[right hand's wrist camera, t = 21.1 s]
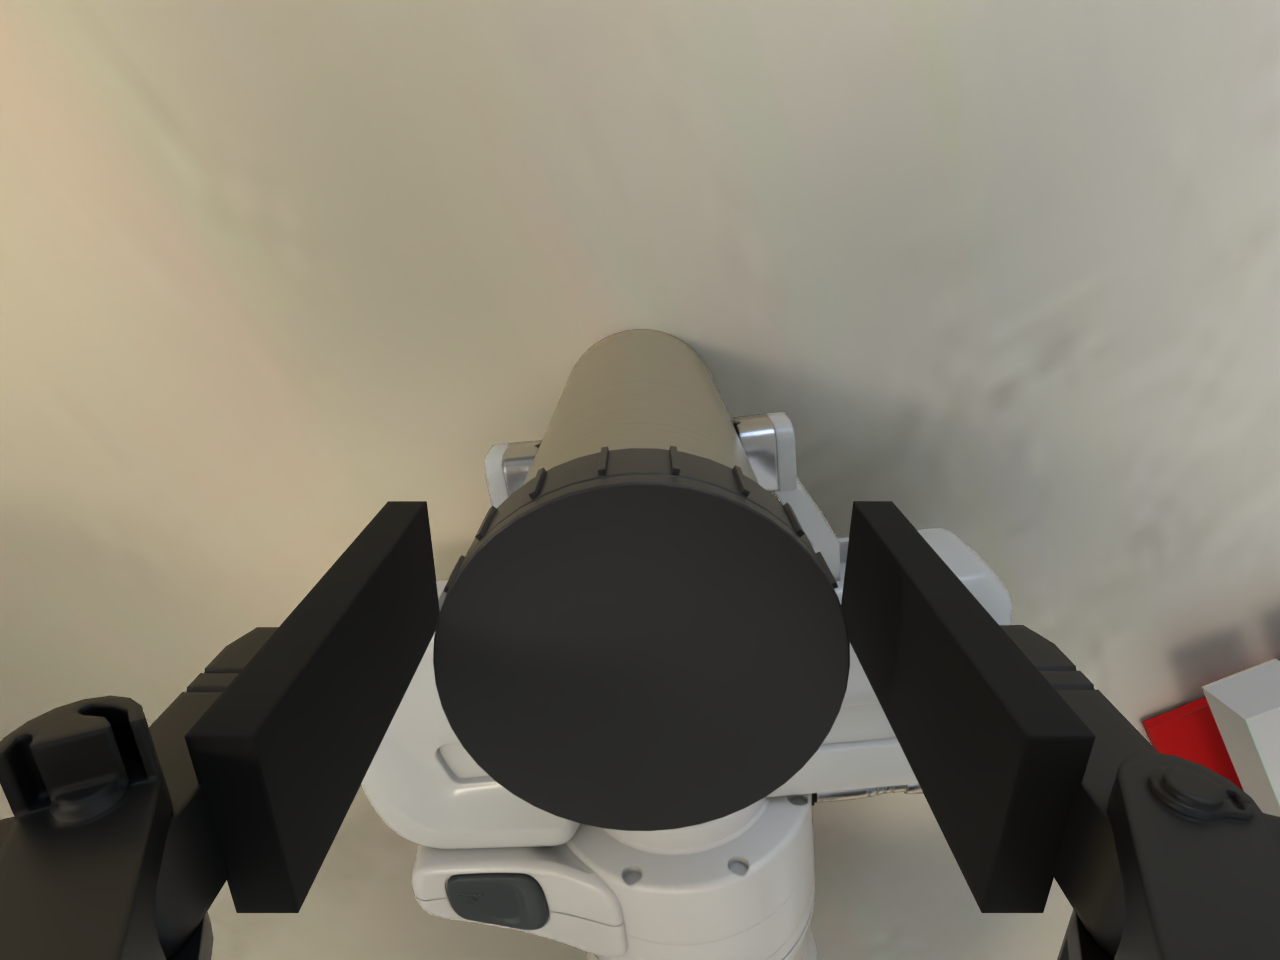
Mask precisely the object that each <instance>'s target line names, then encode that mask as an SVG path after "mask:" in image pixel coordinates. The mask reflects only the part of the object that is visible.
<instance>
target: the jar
mask: <svg viewBox="0 0 1280 960" xmlns="http://www.w3.org/2000/svg"><path fill="white" fill-rule="evenodd" d="M670 446H676V447H677V451H680V452H685V453H689V454H693V455H697V456H700V457H704V458H708V459H711V460H713V461H715V462H718V463H720V464H723V465H725V466H728V467H730V468H734V466H735V465H736V466H738V467H740V468H741V470H742V472H743V475H745V476H747V477H748V478H750V479H752V480H754V481H755V482H756V483H758V481H757V479H756V476H755V474H754V472H753V469H752V467H751V465H750V463H749V460H748V458H747V456H746V453H745V451H744V449H743V446H742V444H741V442H740V440H739V437H738V435H737V433H736V430H735V428H734V426H733V424H732V421H731V419H730V417H729V414H728V412H727V410H726V407H725V405H724V403H723V401H722V398H721V396H720V394H719V391H718V389H717V387H716V385H715V382H714V380H713V378H712V375H711V373H710V371H709V369H708V368H707V366H706V364H705V363H704V361H703V360H702V359H701V357H700V356H699V355H698V354H697V353H696V352H695V351H694V350H693V349H692V348H691V347H689V346H688V345H687V344H686V343H684V342H682V341H681V340H679V339H677V338H675V337H673V336H671V335H668V334H666V333H662V332H659V331H653V330H638V329H636V330H628V331H623V332H619V333H616V334H613V335H611V336H608V337H606V338H604V339H603V340H601V341H599V342H597V343H596V344H595V345H593V346H592V347H591V348H590V349H589V350H588V351H587V352H586V353H585V354H584V355H583V356H582V357H581V358H580V359H579V361H578V362H577V363H576V365H575V367H574V369H573V370H572V372H571V374H570V377H569V379H568V381H567V384H566V386H565V388H564V391H563V393H562V396H561V398H560V400H559V403H558V405H557V407H556V410H555V412H554V414H553V417H552V419H551V421H550V424H549V426H548V428H547V431H546V433H545V435H544V438H543V440H542V442H541V445H540V447H539V449H538V452H537V454H536V456H535V459H534V461H533V463H532V466H531V468H530V470H529V473H528V475H527V477H526V480H525V482H524V484H526V483H527V482H528V481H530V480H531V479H533V478H534V477H536V474H537V472H538V470H539V469H541V468H543V467H544V469H545V470H546V471H547V470H549V469H551V468H553V467H555V466H558V465H560V464H563V463H565V462H568V461H571V460H573V459H576V458H578V457H582V456H586V455H591V454H595V453H599V452H601V448H602V447H608V449H609V451H610V450H619V449H628V448H658V449H665V450H669V449H670ZM524 484H523V485H524ZM758 484H759V483H758Z"/></svg>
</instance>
